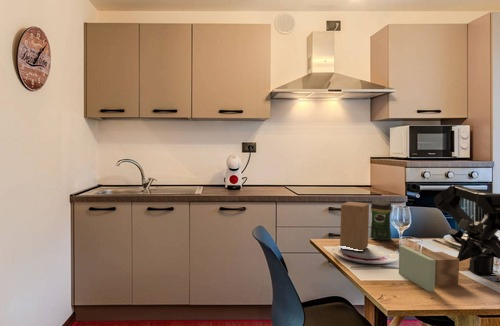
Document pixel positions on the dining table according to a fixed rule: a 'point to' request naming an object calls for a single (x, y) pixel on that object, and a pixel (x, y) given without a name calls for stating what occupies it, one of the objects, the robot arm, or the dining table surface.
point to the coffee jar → (380, 220)
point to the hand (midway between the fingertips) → (458, 260)
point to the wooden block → (354, 225)
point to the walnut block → (445, 268)
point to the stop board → (417, 267)
